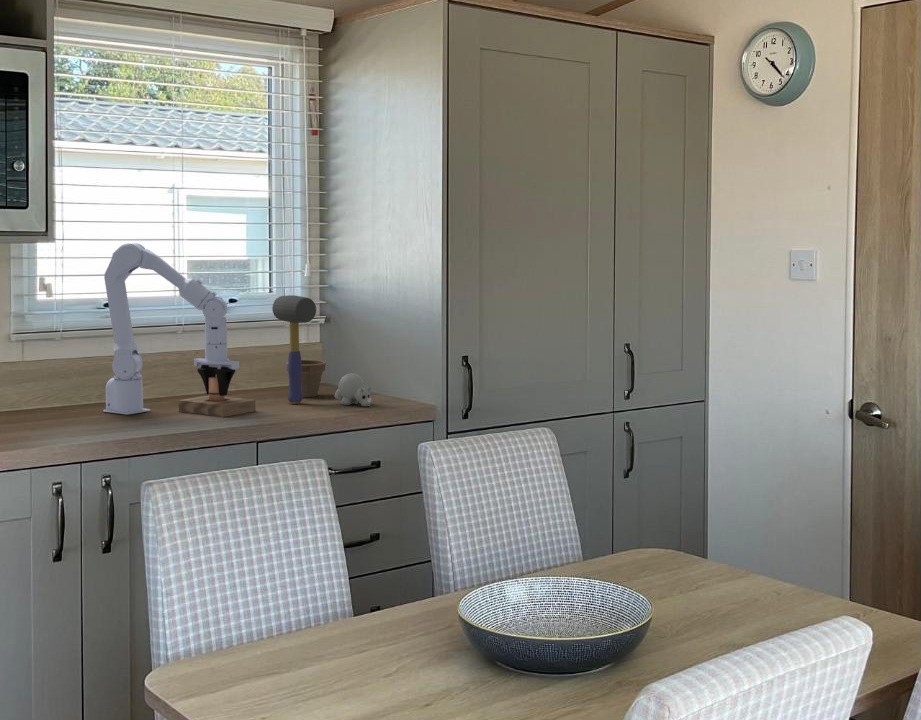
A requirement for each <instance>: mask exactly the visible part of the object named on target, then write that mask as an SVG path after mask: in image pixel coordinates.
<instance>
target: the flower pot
mask: <svg viewBox="0 0 921 720" xmlns="http://www.w3.org/2000/svg"><path fill="white" fill-rule="evenodd" d="M301 363H302V372H301V392H302V398H305V399H306V398H314V397H317V396H318V394H319V390H320V385H321V381H322V376H323V372H324V371H326V366H327V365H326V363H327V362H325V361H323V360H317V359H301ZM285 369H286V372H288V361H286V363H285Z"/></svg>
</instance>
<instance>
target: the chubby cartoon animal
mask: <svg viewBox="0 0 921 720" xmlns="http://www.w3.org/2000/svg"><path fill="white" fill-rule="evenodd" d="M337 385H338V388H337V390H335V392H334V398H335V399H336V400H339V401H341V405H343V406H346V405H349V406H350V405H351V404H352V405H359V404H361V406H362V407H363V406H369V407H370V406H371V405H372V397H371V389H372V387H368V388H366V385H365V382H364V379H363V378H362V377H361V376H360V375H359V374H357V373H347V374H345V375H343V376H342V377H341V378H340V380H339V381H338V384H337ZM358 403H359V404H358Z"/></svg>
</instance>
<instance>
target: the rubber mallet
mask: <svg viewBox="0 0 921 720" xmlns="http://www.w3.org/2000/svg"><path fill="white" fill-rule="evenodd" d="M271 309H272V313H273V316H274V317H275V318H276V319H278V320H279V321H283V322H288V323H289V352H288V360H287V362H288V371H287V373H288V374H287V375H288V394H287V400H288V402H289V404H291V405H298V404H301V401H302V400H303V397H302V392H301V372H302V363H301V360H302V356H301V351H300V327H299V324H300V323H301V324H303V323H304V324H305V323H309V322H311V321H313V319H314V318H315V316H316V314H317V306H316V303H315V302H314V300H313V299H311V298H309V297H306V296H301V295H280V296H278V297H277V298H275V300H274V301H273V304H272V306H271Z"/></svg>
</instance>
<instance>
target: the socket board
mask: <svg viewBox="0 0 921 720" xmlns="http://www.w3.org/2000/svg"><path fill="white" fill-rule="evenodd" d="M224 397H225V401H220V402H213V401H209V395H203V396H197V397H191V398H185V399H179V400H178V412H180V413H189V414H196V415H197V414H198V415H203V416H204V415H205V416H213V417H220V418H221V417H222V418H224V417H229V416H235V415H241V414H247V413H252V412H256V399H250V398H242V397H235V396H234V397H233V396H226V395H225V396H224Z"/></svg>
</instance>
